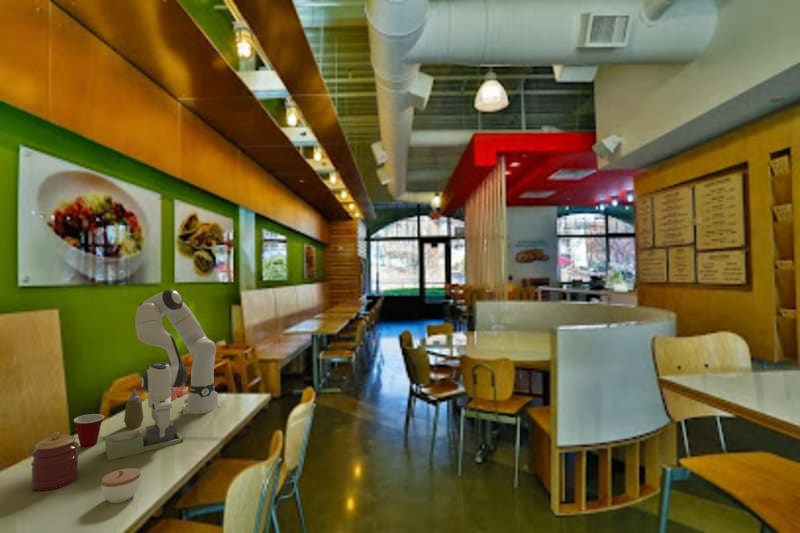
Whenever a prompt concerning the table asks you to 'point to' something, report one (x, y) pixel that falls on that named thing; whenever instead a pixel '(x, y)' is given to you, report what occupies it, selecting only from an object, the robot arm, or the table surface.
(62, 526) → the table surface
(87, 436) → the plastic cup
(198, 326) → the robot arm
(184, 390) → the pottery
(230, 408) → the table surface
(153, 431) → the tall grey box
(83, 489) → the table surface
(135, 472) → the lidded jar
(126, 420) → the squeeze bottle
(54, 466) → the canister
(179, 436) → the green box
